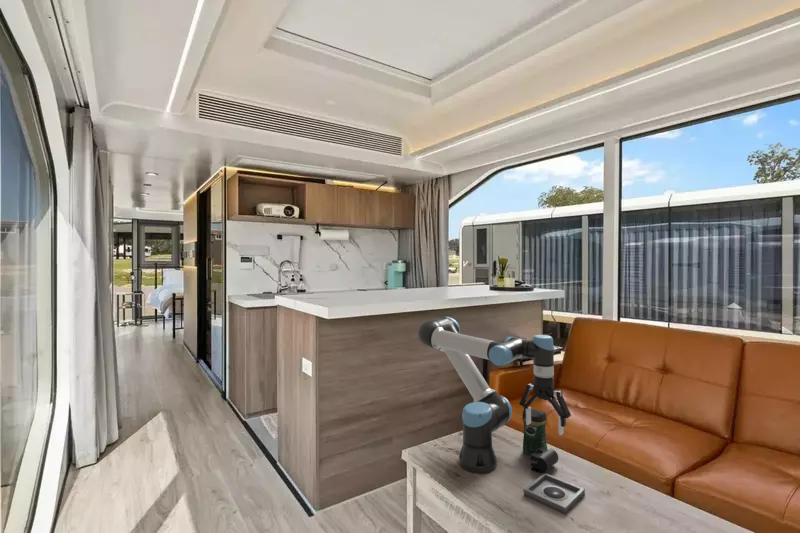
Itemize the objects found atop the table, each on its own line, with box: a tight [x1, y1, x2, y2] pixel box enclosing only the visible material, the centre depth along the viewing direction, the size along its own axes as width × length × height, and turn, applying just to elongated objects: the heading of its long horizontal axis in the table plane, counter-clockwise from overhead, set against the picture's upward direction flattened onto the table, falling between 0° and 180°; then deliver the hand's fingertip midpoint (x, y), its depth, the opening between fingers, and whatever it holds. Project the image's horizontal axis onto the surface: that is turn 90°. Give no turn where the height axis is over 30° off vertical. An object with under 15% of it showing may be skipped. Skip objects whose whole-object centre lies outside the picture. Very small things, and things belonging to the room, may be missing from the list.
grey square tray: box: [523, 472, 586, 515], centre depth 146 cm, size 15×15×2 cm
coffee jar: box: [521, 407, 548, 456], centre depth 176 cm, size 10×8×19 cm
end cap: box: [529, 447, 559, 475], centre depth 164 cm, size 10×7×7 cm
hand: (544, 429), depth 163 cm, fingers open, 13 cm apart
